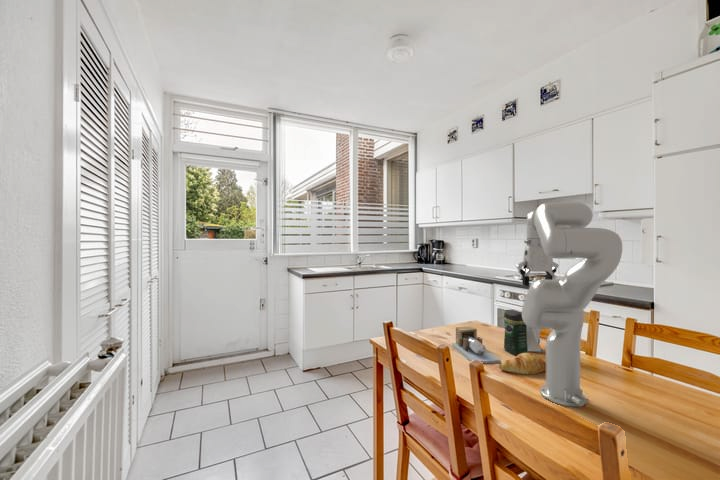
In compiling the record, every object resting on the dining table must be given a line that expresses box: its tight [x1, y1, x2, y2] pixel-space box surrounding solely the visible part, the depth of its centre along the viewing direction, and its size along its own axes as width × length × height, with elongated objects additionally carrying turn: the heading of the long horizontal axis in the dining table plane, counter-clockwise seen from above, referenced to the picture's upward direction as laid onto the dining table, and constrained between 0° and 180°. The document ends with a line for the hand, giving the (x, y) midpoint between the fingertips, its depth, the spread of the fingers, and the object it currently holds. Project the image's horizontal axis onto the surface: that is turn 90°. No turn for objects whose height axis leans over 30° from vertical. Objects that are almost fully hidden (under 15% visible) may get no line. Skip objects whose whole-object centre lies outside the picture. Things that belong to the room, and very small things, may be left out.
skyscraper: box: [522, 290, 546, 354], centre depth 146 cm, size 8×8×28 cm
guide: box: [463, 336, 483, 351], centre depth 144 cm, size 3×8×5 cm, turn 96°
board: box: [451, 342, 502, 364], centre depth 143 cm, size 22×12×1 cm, turn 6°
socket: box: [455, 326, 478, 346], centre depth 151 cm, size 4×8×8 cm, turn 96°
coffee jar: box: [503, 309, 529, 356], centre depth 144 cm, size 10×8×19 cm
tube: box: [462, 334, 487, 355], centre depth 144 cm, size 14×5×5 cm, turn 6°
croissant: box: [497, 352, 546, 375], centre depth 125 cm, size 21×10×8 cm, turn 93°
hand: (537, 285), depth 128 cm, fingers open, 9 cm apart
